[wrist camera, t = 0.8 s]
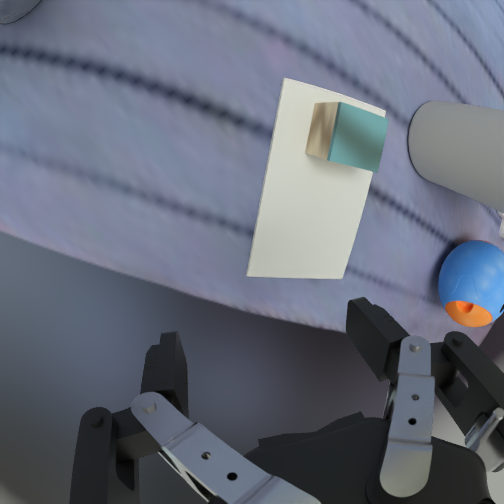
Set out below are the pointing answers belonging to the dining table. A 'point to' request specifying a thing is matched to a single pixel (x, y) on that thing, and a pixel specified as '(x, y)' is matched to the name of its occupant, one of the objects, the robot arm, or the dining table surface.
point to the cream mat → (306, 196)
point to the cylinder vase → (460, 149)
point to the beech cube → (347, 135)
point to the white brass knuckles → (503, 224)
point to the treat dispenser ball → (473, 283)
